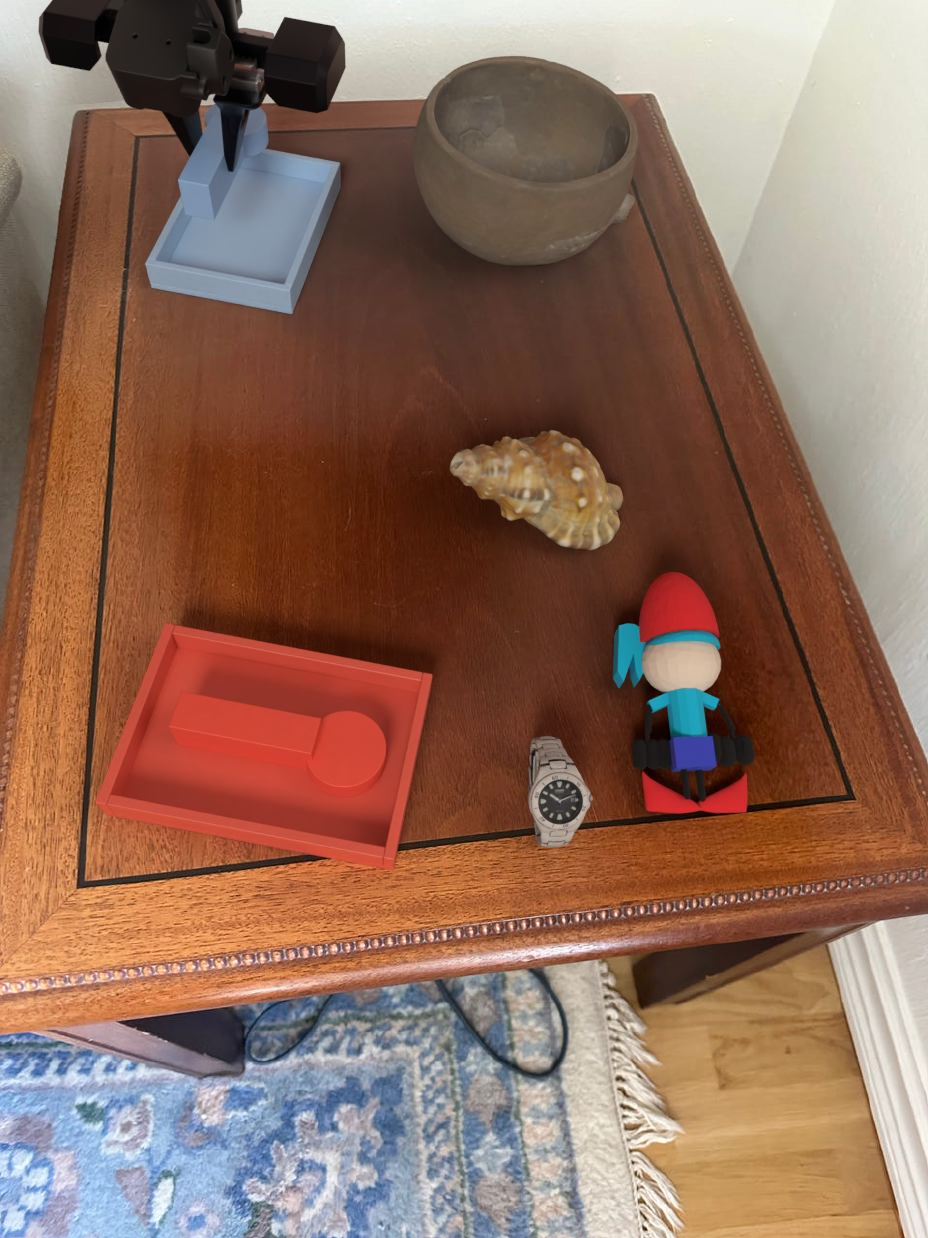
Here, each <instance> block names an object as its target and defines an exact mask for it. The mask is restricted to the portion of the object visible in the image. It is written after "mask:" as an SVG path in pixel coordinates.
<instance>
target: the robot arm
mask: <svg viewBox="0 0 928 1238" xmlns="http://www.w3.org/2000/svg"><path fill="white" fill-rule="evenodd" d="M242 15H243V5H242V0H51V1H50V3H48V4H47V6H46V7H45V9H44V10H43V11H42V13H41V14H40V16H38V35H39V38H40V42H41V45H42V48H43V52H44V55H45V58H46V59H47V60H48V62H49V63H50V64H51V65H54V66H60V67H65V68H70V69H71V68H72V69H77V70H82V71H86V72H91V71H92V69H93V68H94V67H95V66H96V65H97V63H98V62H99V61H100V60H101V59H102V52H101V48H100V44H99V43H104V44H108V45H107V48H106V49H105V50H106V51H105V55H104V57H105V62H106V65H107V66H108V68H109V71H110V73H111V76H112V78H113V79H114V82H115V83H116V85H117V88H118V90H119V93H120V94H121V96H122V98H123V101H124V102H125V104H126V105H127V106H129V107H130V108H132V109H135V110H141V111H142V110H144V109H147V110H152V111H158V112H161V113H162V115H163V116H164V117H165V119H166V120H167V122H168V123H169V125H170V126H171V129H172V130H173V132H174V133H175V135H176V136H177V138H178V140H179V142H180V143H181V146H182V147H183V148H184V150H185V151H186V153H187V155H188V156H189V158H190V156H191V155H192V153H193V151H194V149H195V147H196V146H197V144H198V142H199V140H200V138H201V136H202V134H203V132H204V131H203V126H202V119H201V114H200V107H201V104H202V101H205V102H206V101H208V99H209V96H211V95H214V96H213V98H212V101H213V103H214V104H216V105H217V106H218V108H219V109H220V113H221V125H222V137H223V150H224V156H225V160H226V164H227V168H228V171H229V172H234V170H235V168H236V166H237V162H238V158H239V154H240V150H241V146H242V142H243V137H244V133H245V129H246V125H247V121H248V117H249V113H250V110H255V109H258V108H259V107H260V108H261V106H262V105H263V102H264V101H265V100H266V99H265V98H266V96H268V97H269V98H270V100H272V101H273V102H274V103H275V105H276V106H277V107H280V108H286V109H292V110H297V111H301V112H306V113H307V112H308V113H314V114H319V113H324V112H326V111H328V110H329V108H330V106H331V103H332V100H333V98H334V96H335V94H336V91H337V89H338V87H339V84H340V82H341V79H342V77H343V75H344V74H345V73H344V72H345V70H346V67H347V66H346V42H345V40H344V38H343V37H342V35H341V34H340V32H339V30H338V29H337V27H336V26H335V25H331V24H325V23H321V22H315V21H309V20H303V19H298V18H293V17H288V16H283V19H282V21H281V23H280V25H279V27H278V29H277V31H276V32H275V33H274V32H272V31H271V32H270V31H265V30H260V29H254V28H250V27H240V28H239V20H240V18H241V16H242Z"/></svg>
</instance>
